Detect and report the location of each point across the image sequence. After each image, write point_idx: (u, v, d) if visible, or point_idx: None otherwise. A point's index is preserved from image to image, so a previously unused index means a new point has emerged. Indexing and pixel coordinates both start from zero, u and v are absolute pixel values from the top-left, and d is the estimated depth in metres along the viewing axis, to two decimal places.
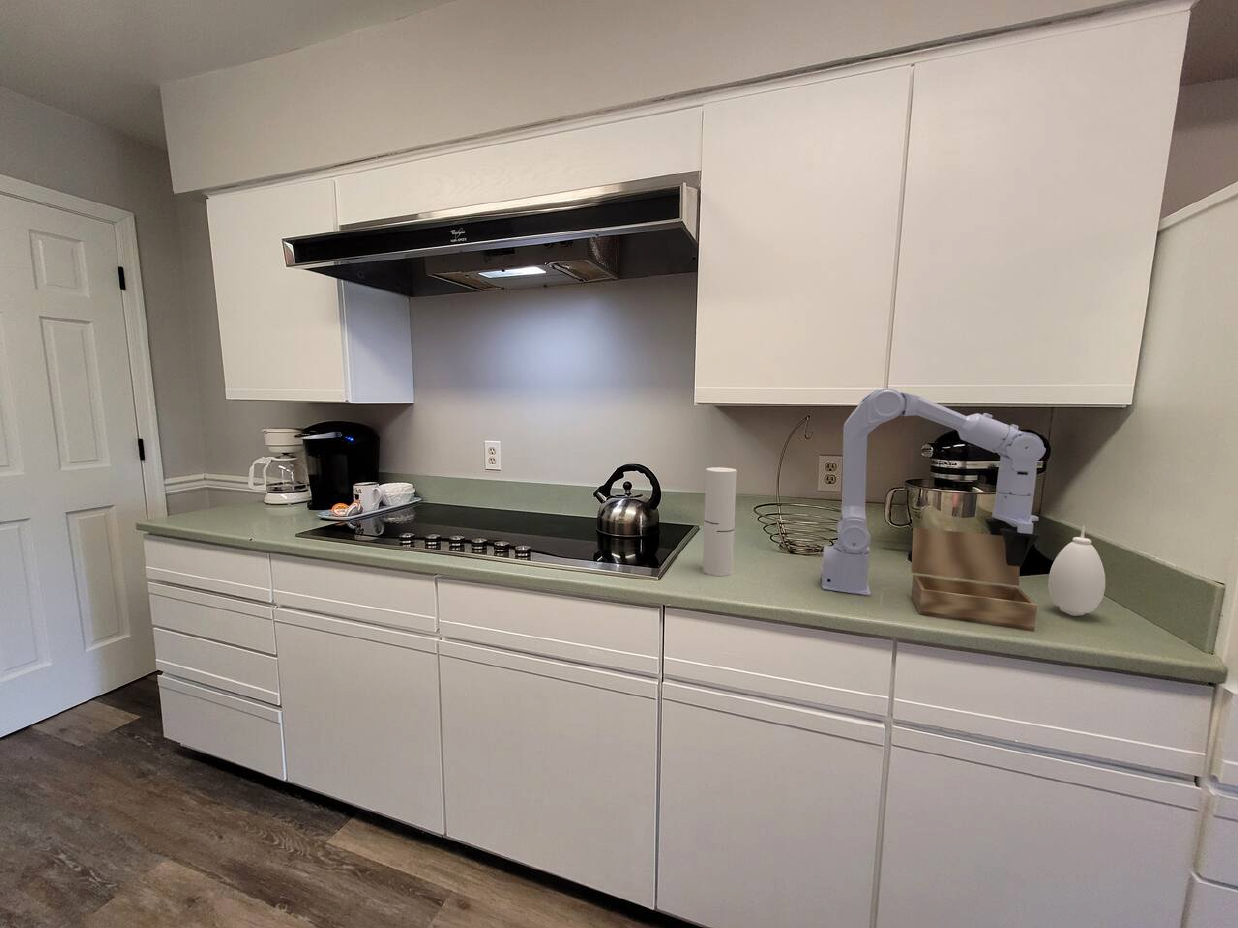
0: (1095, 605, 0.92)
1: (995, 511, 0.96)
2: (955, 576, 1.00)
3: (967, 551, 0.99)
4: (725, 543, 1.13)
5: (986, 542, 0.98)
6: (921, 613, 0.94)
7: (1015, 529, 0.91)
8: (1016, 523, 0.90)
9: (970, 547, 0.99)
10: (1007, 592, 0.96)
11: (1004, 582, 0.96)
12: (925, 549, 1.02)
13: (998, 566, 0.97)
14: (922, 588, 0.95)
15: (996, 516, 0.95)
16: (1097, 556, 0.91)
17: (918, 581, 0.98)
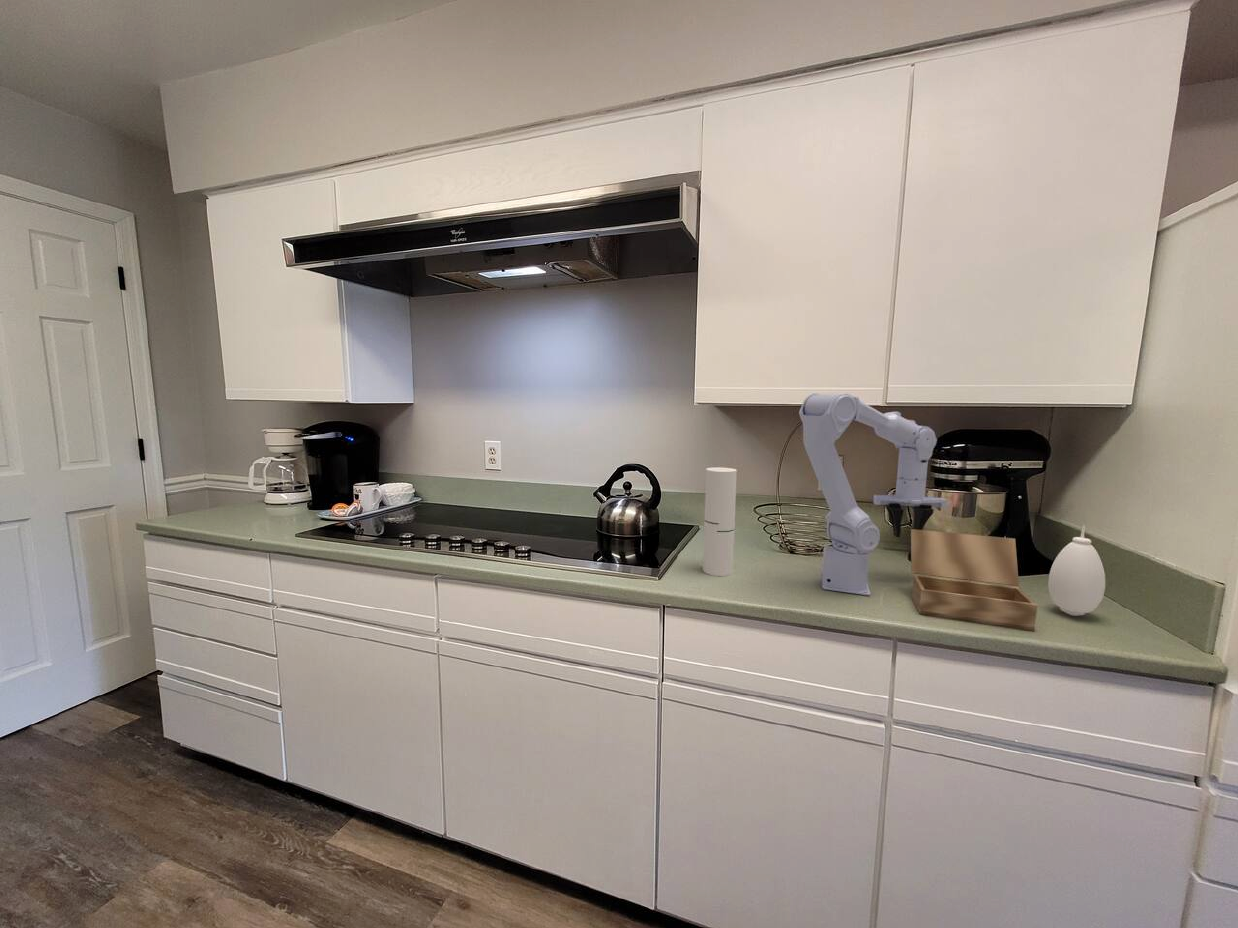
0: (1095, 605, 0.92)
1: None
2: (955, 576, 1.00)
3: (965, 551, 1.01)
4: (725, 543, 1.13)
5: (982, 543, 1.00)
6: (921, 613, 0.94)
7: None
8: None
9: (967, 548, 1.01)
10: (1007, 592, 0.96)
11: (1004, 582, 0.97)
12: (923, 549, 1.03)
13: (996, 566, 0.98)
14: (922, 588, 0.95)
15: None
16: (1097, 556, 0.91)
17: (918, 581, 0.98)
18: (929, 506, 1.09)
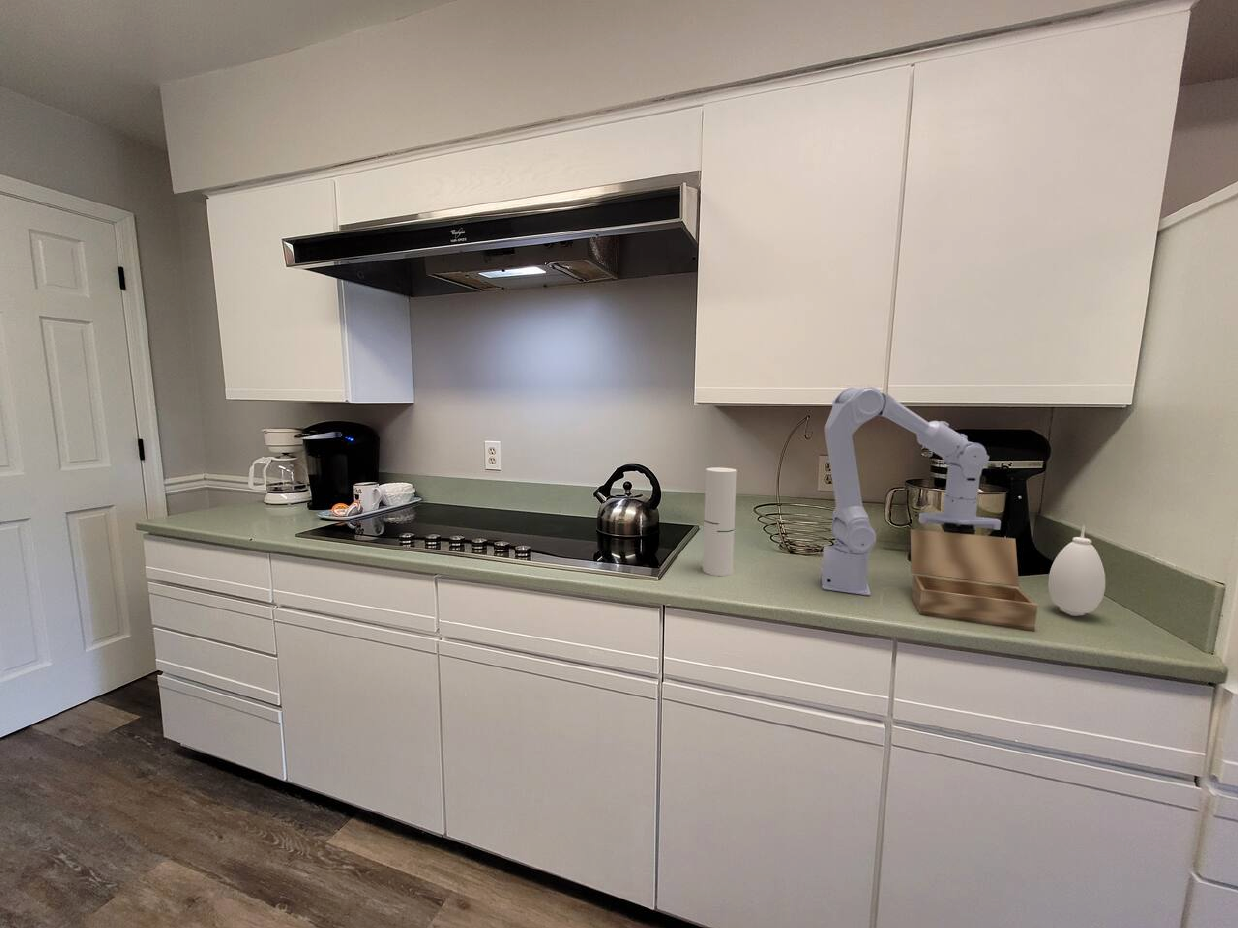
0: (1095, 605, 0.92)
1: None
2: (955, 576, 1.00)
3: (965, 551, 1.01)
4: (725, 543, 1.13)
5: (982, 543, 1.00)
6: (921, 613, 0.94)
7: None
8: None
9: (967, 548, 1.01)
10: (1007, 592, 0.96)
11: (1004, 582, 0.97)
12: (923, 549, 1.03)
13: (996, 566, 0.98)
14: (922, 588, 0.95)
15: None
16: (1097, 556, 0.91)
17: (918, 581, 0.98)
18: (971, 526, 1.03)
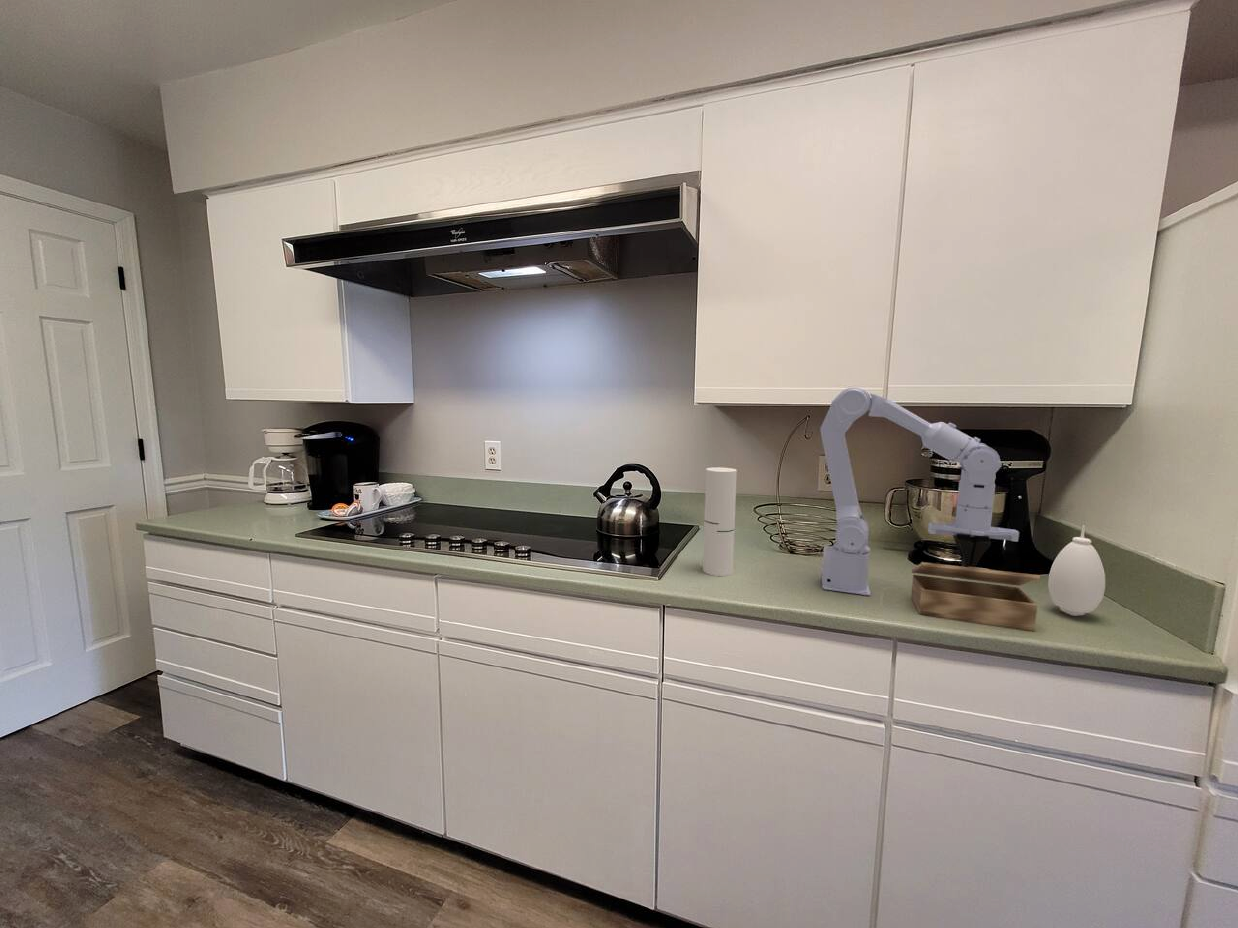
0: (1095, 605, 0.92)
1: None
2: (955, 577, 0.99)
3: (975, 575, 0.94)
4: (725, 543, 1.13)
5: (999, 575, 0.91)
6: (921, 613, 0.94)
7: None
8: None
9: (979, 574, 0.93)
10: (1007, 592, 0.96)
11: (1004, 583, 0.96)
12: (930, 570, 0.97)
13: (1004, 580, 0.94)
14: (922, 588, 0.95)
15: None
16: (1097, 556, 0.91)
17: (918, 581, 0.98)
18: (986, 537, 0.94)
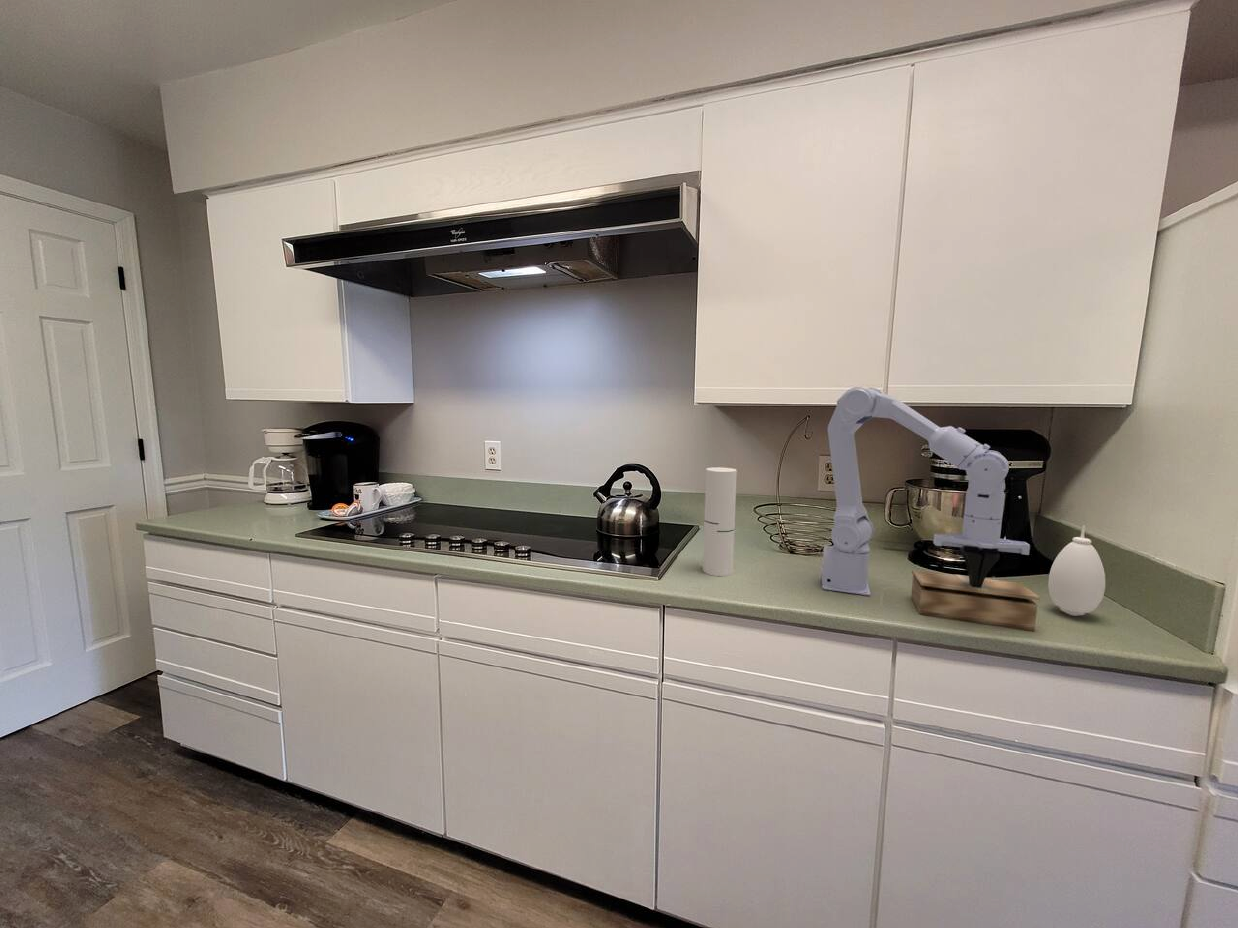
0: (1095, 605, 0.92)
1: None
2: None
3: None
4: (725, 543, 1.13)
5: None
6: (921, 613, 0.94)
7: None
8: None
9: None
10: None
11: None
12: None
13: None
14: (922, 588, 0.95)
15: None
16: (1097, 556, 0.91)
17: None
18: (995, 550, 0.90)
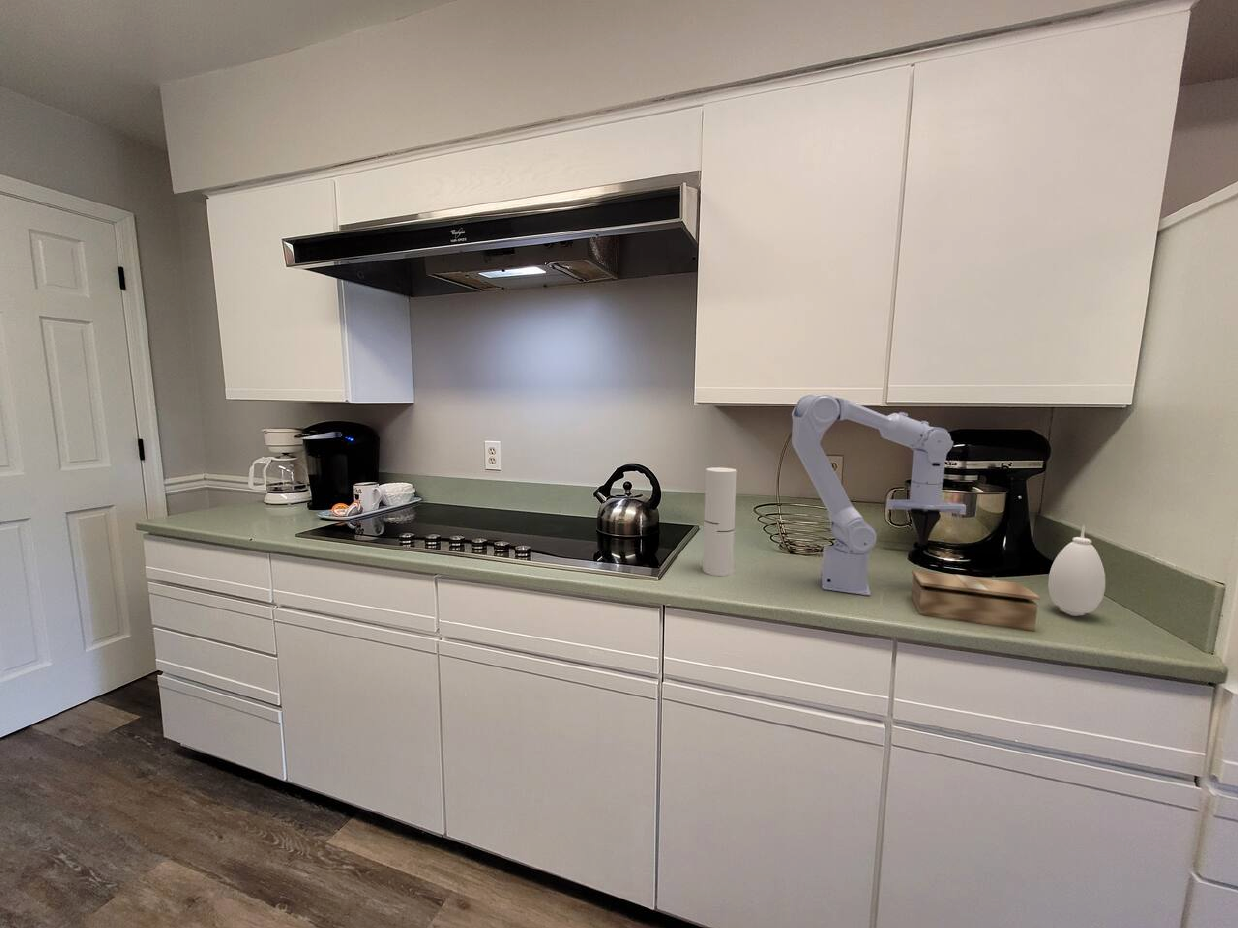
0: (1095, 605, 0.92)
1: None
2: None
3: None
4: (725, 543, 1.13)
5: None
6: (921, 613, 0.94)
7: None
8: None
9: None
10: None
11: None
12: None
13: None
14: (922, 588, 0.95)
15: None
16: (1097, 556, 0.91)
17: None
18: (937, 511, 1.04)
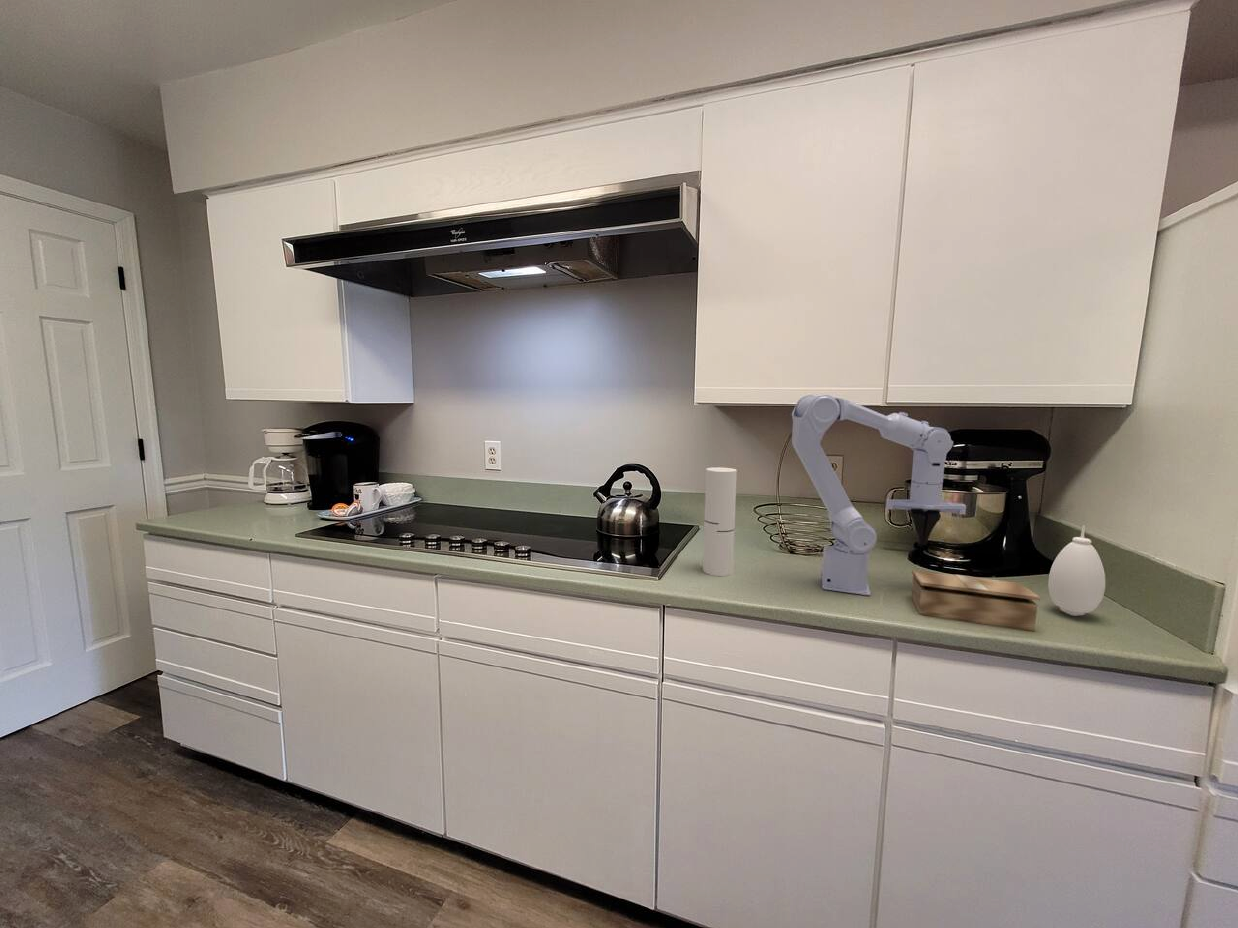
0: (1095, 605, 0.92)
1: None
2: None
3: None
4: (725, 543, 1.13)
5: None
6: (921, 613, 0.94)
7: None
8: None
9: None
10: None
11: None
12: None
13: None
14: (922, 588, 0.95)
15: None
16: (1097, 556, 0.91)
17: None
18: (937, 511, 1.04)
